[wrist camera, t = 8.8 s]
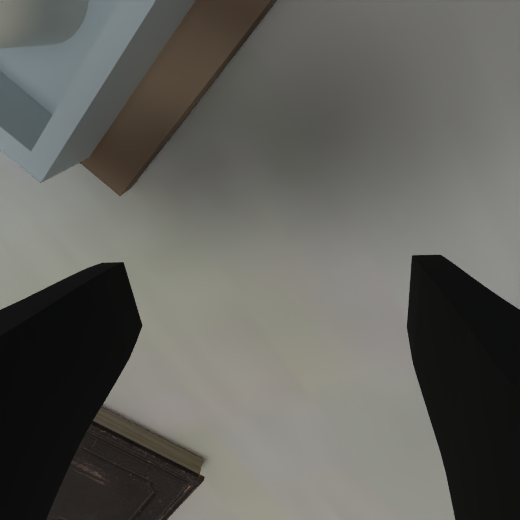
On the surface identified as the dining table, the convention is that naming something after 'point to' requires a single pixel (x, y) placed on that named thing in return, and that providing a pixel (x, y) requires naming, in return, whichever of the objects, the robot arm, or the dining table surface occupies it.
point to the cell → (39, 21)
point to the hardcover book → (125, 474)
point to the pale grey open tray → (79, 82)
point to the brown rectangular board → (173, 87)
